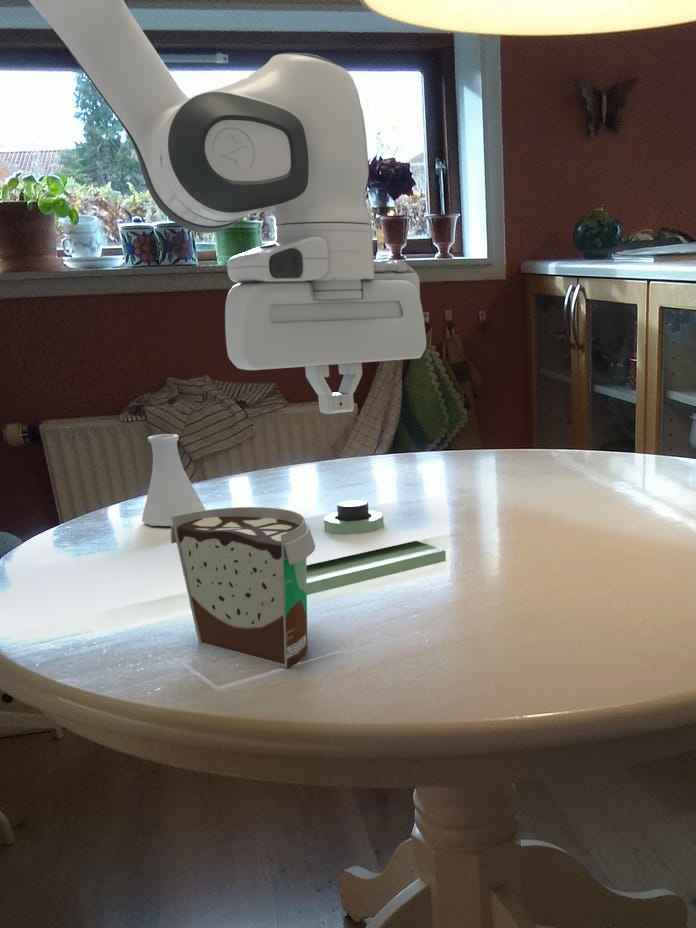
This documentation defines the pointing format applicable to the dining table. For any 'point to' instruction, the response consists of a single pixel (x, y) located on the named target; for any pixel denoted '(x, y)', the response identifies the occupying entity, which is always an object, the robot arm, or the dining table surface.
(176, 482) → the flask
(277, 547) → the food container
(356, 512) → the tare button
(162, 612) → the dining table surface
